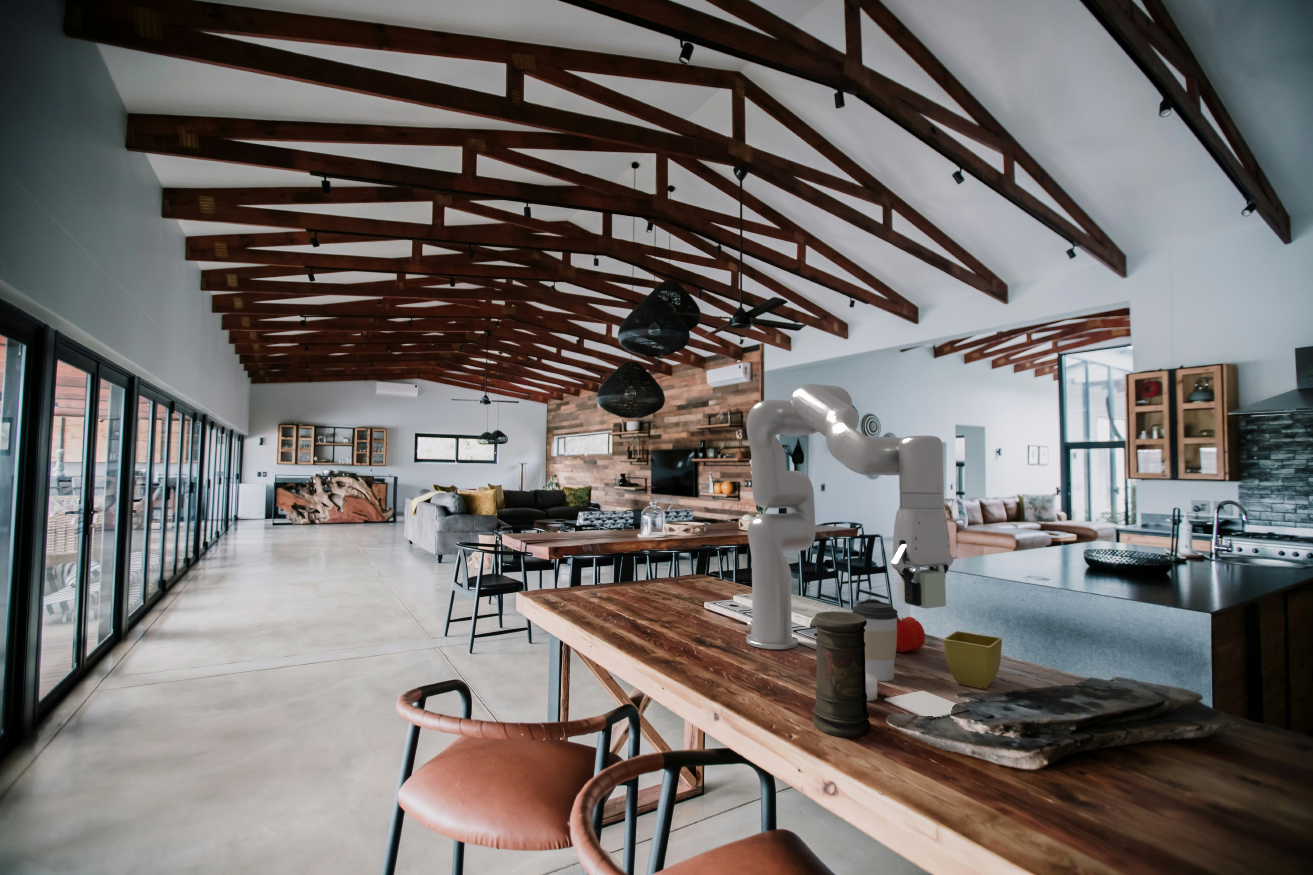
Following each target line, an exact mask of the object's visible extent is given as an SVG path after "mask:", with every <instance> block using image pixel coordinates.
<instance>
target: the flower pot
mask: <svg viewBox="0 0 1313 875" xmlns="http://www.w3.org/2000/svg"><path fill="white" fill-rule="evenodd" d="M942 640H943V647H944V652H945V659H946V664H947V667H948V670H949V672H950V673H951V676H952V677H953V679H954V680H955V682H956V683H957V684H960V685H963V686H964V685H965V686H968V687H973V688H977V689H982V690H984V689H987V688H988V687H989V686H990V685H991V684H992V683H993V681H994V680H995V679H996V676H997V675H998V671H999V669H1000V665H1001V657H1002V646H1003V645H1002V644H1003V639H1002V637H998V636H990V635H985V634H977V633H976V634H975V633H971V632H964V631H958V630H956V631H953V632H952V633H951V634H949V635H948V636H946V637H944V638H943V639H942Z"/></svg>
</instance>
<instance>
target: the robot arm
mask: <svg viewBox="0 0 1313 875" xmlns="http://www.w3.org/2000/svg"><path fill="white" fill-rule="evenodd" d="M859 422H860V419H859V413H858V411H857V410H856V408H854V407H853V400H852V397H851V395H850V394H849V392H848V391H847V390H846V389H845V388H843V387H841V386H836V385H829V384H828V385H827V384H818V383H817V384H816V383H815V384H814V383H809V384H808V383H807V384H804V385H801V386H798V388H796V389H794V391H793V392H792V394H791V396H790V400H785V399H766V400H760V401H759V402H757V403H755V404H754V405H753V406H752V407H751V408H750V411H749V412H748V415H747V418H746V435H747V441H748V445H749V448H750V455H751V456H750V457H751V459H750V460H751V463H750V464H751V485H752V486H751V488H752V497H753V501H754V503H755V505H757V506H758V507H760V508H762V509H786V513H764V514H761V515H757V516H755V517H754V518H753V519H751V521H749V524H748V527H747V538H748V539H747V540H748V544H749V550H750V557H751V583H752V584H751V586H752V587H751V588H752V589H751V590H752V591H751V592H752V594H751V595H752V596H751V598H752V601H751V602H752V603H751V605H752V607H751V608H752V620H751V621H747V623H746V625H747V628H750V629H751V630H750V633H749V634H747V635H746V637H745V639H746V640H745V641H746V643H747V644H748V645H749V646H752V647H755V648H759V649H764V650H788V649H794V648H796V647H797V646H798V645H799V639H798V637H796V636H795V637H796V638H795V637H792V633H793V631H792V625H793V624H792V623H793V622H792V619H793V618H792V570H791V567H790V565H789V562H788V560H787V559H786V557H785V554H784V553H788V552H798V551H805V550H808V549H809V548H810V547H811V546H813V544H814V542H815V538H816V531H817V530H816V509H815V507H816V506H815V491H814V486H813V483H812V480H811V479H810V477H809V476H808V475H807V474H806V473H804V472H802V471H799V470H787V464H786V453H785V449H784V448H783V445H782V443H781V442H780V440H779V439H778V438H777V435H785V436H786V435H787V436H811V435H813V434H816V433H820V434H821V435H822V436H824V437H825V443H826V445H827V449H828V450H829V453H830V455H832V456H833V458H834V459H835V460H837V461H838V462H840V463H841V464H842V465H843V466H844V467H846V468H847V469H849V470H850V471H852V472H854V473H856V474H859V475H862V476H863V475H864V476H899V477H898V478H899V479H898V480H899V482H898V483H899V485H898V486H899V509H897V511H896V515H895V520H894V525H893V526H894V527H893V539H892V543H893V544H892V557H893V559H892V560H891V567H892V568H893V569H894V570H896V572H897V573H898V574H899V576H900V577H901V581H904V590H905V603H908V604H907V605H909V604H912V605H911V606H913V605H916V606H915V607H917V606H920V605H921V583H917V582H918V578H919V573H920V569H921V567H925V566H926V569H927V570H934V571H940V572H945V579H946V578H947V576H946V574H948V571H949V569H950V567H951V566H952V565H953V563H954V557H953V555H952V554H951V545H950V544H951V542H950V541H951V540H950V532H949V531H950V530H949V525H948V524H949V523H948V518H947V513H946V509H945V493H944V492H945V489H944V488H945V485H944V484H945V483H944V481H945V479H944V454H943V453H944V450H943V448H944V447H943V442H942V440H941V438H940V437H938V436H935V435H908V436H905V437H895V436H894V437H893V436H875V435H872V436H871V435H865V434H863V433H861V432H859V430H857V428H858V425H859ZM911 569H912V570H913V571H912V573H911V571H910V570H911ZM905 603H904V604H905Z"/></svg>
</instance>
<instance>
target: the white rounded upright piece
mask: <svg viewBox="0 0 1313 875" xmlns="http://www.w3.org/2000/svg"><path fill="white" fill-rule="evenodd" d="M866 694H867V702H870V701H875V700H877V699H878V681H877V677H876V676H874V675H872V674H869V673H866Z"/></svg>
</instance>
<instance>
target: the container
mask: <svg viewBox="0 0 1313 875" xmlns="http://www.w3.org/2000/svg"><path fill="white" fill-rule="evenodd" d="M813 619H814V622H815V623H816V625H815V628H816V639H815V642H816V646H815V648H816V655H815V656H816V657H815V658H816V683H815V684H816V685H815V686H816V687H815V704H814V706H813V712H814V714H813V715H812V723H813V725H814V726H815V727H816V729H818V730H819V731H821V732H823V733H826V734H828V735H831V736H836V737H844V738H858V737H863V736H865V735H868V733H869V732H870V730H871V722H870V720H869V718H870V716H871V715H870V712H869V711H868V704H867V703H868V701H867V694H866V672H865V646H866V644H865V642H864V632H865V628H864V627H865V626H866V624H867V621H866V618H865V617H863V616H861V615H858V614H854V613H852V612H846V611H821V612H817V613H816V614H815V615H814V618H813Z"/></svg>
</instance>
